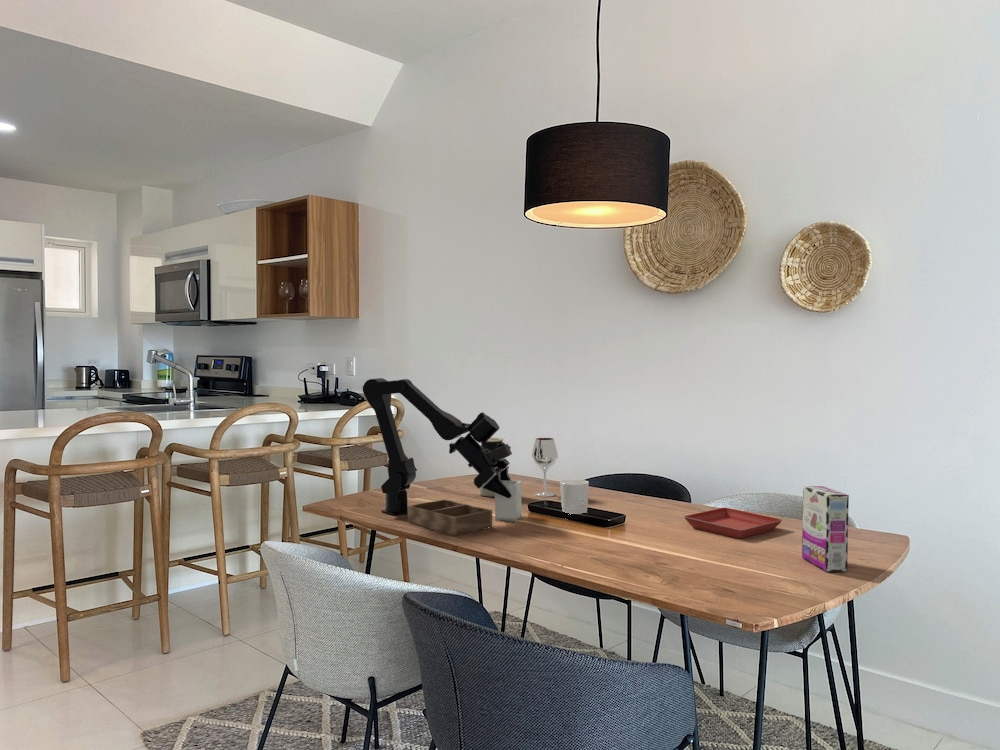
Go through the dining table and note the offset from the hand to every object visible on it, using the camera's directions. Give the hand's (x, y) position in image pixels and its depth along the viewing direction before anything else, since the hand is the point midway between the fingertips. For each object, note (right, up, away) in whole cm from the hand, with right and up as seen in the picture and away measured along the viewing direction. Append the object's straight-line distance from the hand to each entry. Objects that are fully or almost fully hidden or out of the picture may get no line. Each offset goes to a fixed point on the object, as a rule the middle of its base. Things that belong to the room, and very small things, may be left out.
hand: (513, 494), depth 211 cm
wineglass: (+11, -5, +33) cm, 35 cm away
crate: (-17, -7, -7) cm, 20 cm away
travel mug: (-6, -5, +34) cm, 35 cm away
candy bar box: (+67, -8, -46) cm, 81 cm away
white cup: (+17, -7, +1) cm, 18 cm away
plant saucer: (+57, -7, -13) cm, 59 cm away
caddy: (-1, -7, +1) cm, 7 cm away
